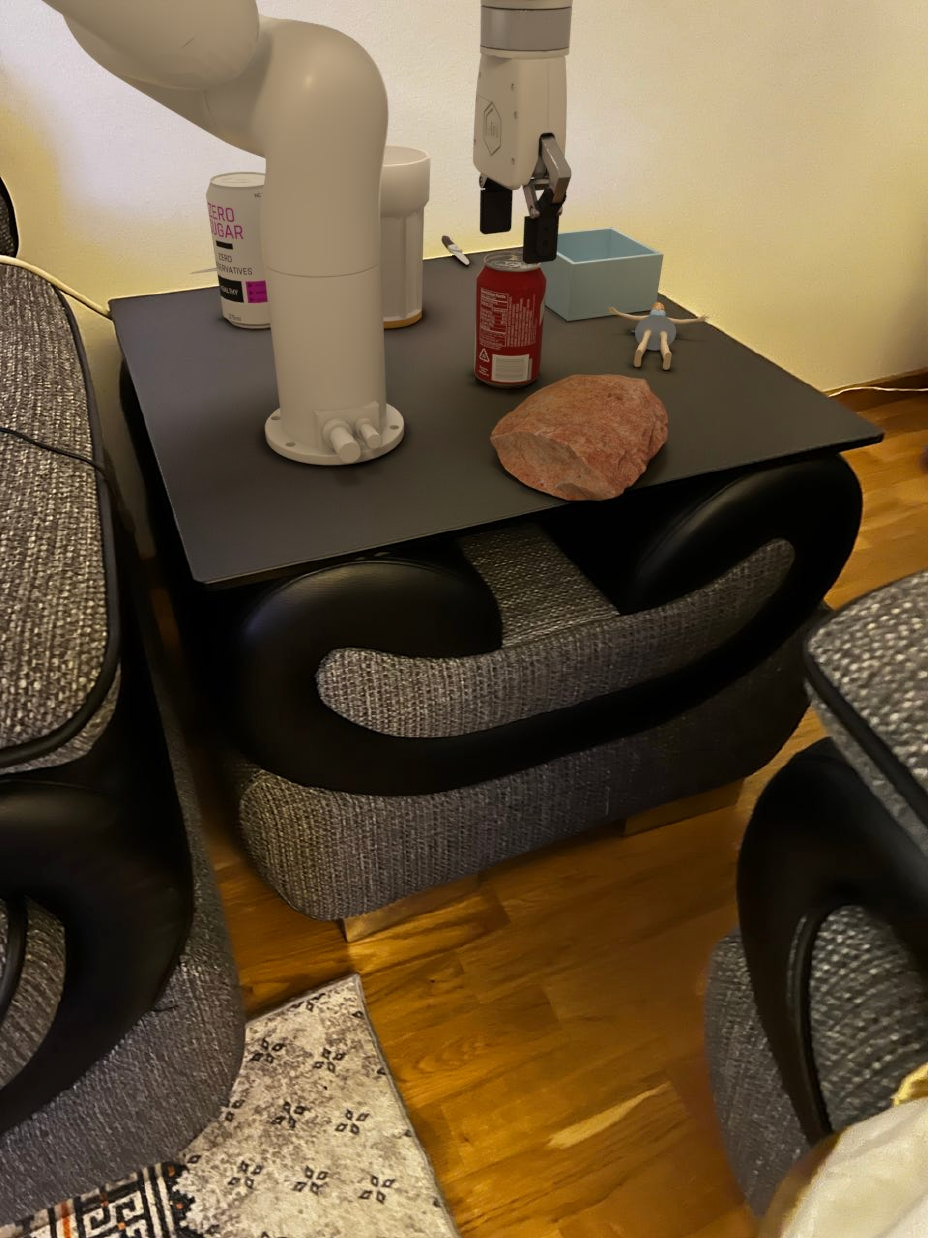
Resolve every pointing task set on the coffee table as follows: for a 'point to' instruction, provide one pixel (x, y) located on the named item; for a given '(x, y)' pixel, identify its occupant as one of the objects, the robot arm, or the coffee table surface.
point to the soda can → (509, 320)
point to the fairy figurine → (655, 332)
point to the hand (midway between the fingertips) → (516, 246)
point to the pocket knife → (454, 248)
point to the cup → (403, 232)
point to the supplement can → (239, 246)
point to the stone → (583, 436)
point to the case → (601, 274)
